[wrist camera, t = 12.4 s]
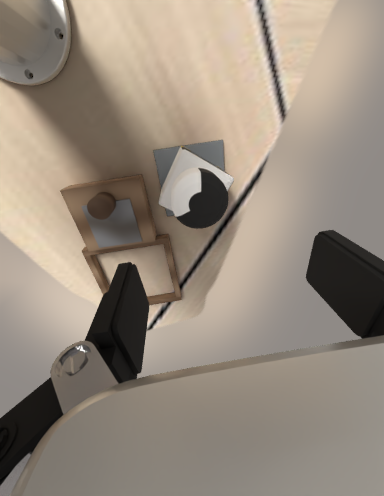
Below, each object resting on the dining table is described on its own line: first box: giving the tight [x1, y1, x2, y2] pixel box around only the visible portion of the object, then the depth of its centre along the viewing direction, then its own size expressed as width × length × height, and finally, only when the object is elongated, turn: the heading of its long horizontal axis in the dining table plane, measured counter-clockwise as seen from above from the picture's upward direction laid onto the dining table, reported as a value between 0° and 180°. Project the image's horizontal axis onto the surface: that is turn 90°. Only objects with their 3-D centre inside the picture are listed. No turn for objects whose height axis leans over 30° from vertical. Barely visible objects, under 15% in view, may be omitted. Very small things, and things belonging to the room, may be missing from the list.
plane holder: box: [60, 175, 182, 305], centre depth 34 cm, size 26×15×6 cm, turn 7°
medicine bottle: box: [159, 146, 234, 229], centre depth 25 cm, size 7×7×12 cm
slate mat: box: [153, 140, 224, 216], centre depth 31 cm, size 10×10×1 cm
